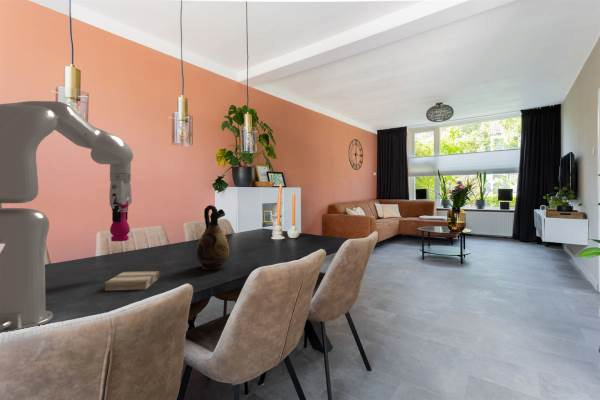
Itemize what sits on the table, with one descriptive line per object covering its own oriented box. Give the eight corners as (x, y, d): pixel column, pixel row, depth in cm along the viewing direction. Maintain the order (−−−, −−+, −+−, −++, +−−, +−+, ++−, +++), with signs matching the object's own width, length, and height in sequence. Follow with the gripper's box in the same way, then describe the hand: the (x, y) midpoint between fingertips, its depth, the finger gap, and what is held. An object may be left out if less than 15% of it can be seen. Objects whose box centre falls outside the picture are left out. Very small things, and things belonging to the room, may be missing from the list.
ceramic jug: (236, 266, 142) (236, 205, 141) (211, 273, 129) (211, 206, 128) (212, 261, 151) (212, 204, 150) (186, 268, 138) (186, 205, 137)
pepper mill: (120, 242, 119) (120, 193, 119) (105, 241, 120) (105, 193, 120) (133, 239, 126) (134, 193, 126) (119, 238, 127) (119, 193, 127)
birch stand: (145, 289, 108) (145, 281, 107) (105, 290, 106) (105, 282, 106) (158, 278, 121) (158, 271, 121) (123, 279, 120) (123, 271, 119)
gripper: (120, 177, 115) (119, 222, 115) (138, 179, 132) (137, 219, 132) (99, 176, 114) (99, 222, 114) (120, 179, 131) (120, 219, 131)
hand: (120, 220), depth 123 cm, fingers closed on pepper mill, 5 cm apart
